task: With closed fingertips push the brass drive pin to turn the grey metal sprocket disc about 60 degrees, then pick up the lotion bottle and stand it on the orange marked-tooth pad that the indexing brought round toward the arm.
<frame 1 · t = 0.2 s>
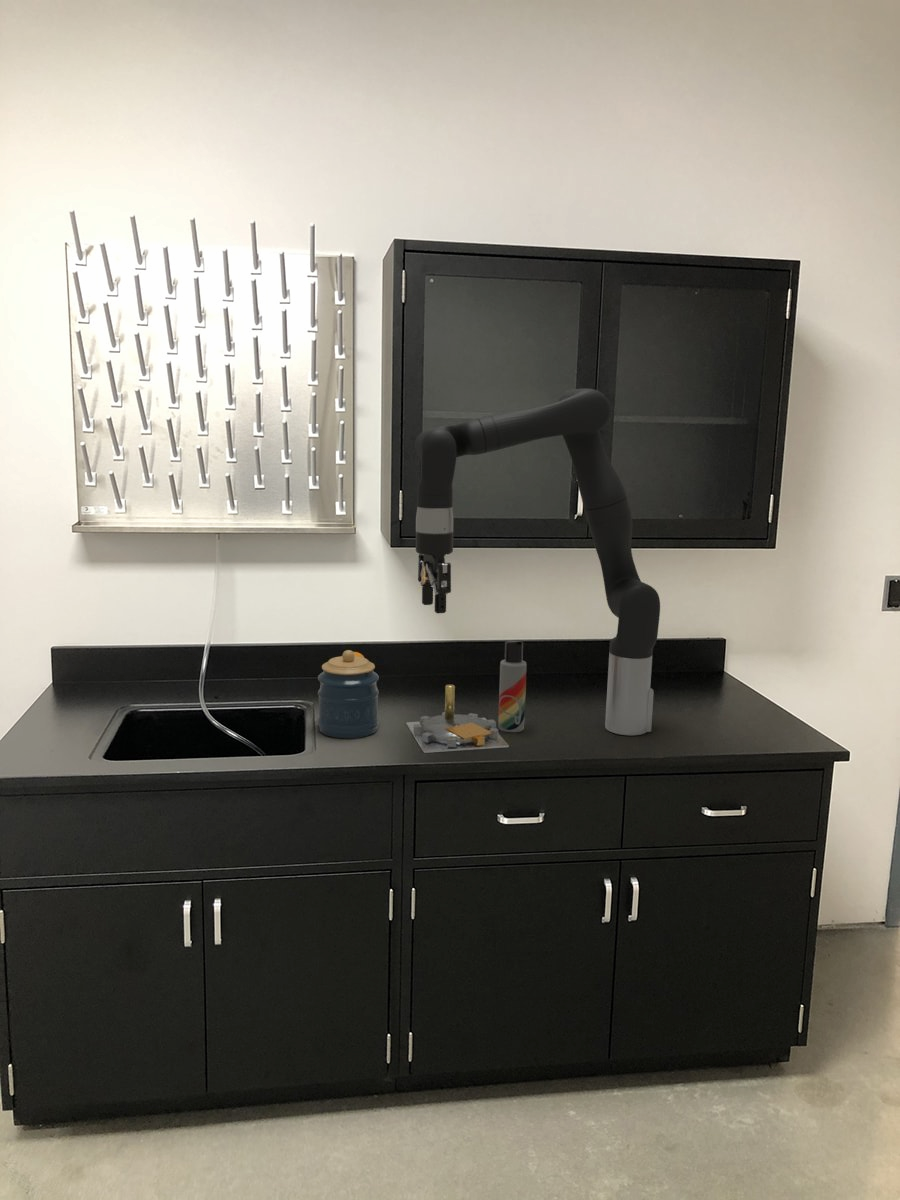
hand: (433, 608, 191), 28 cm above the counter, fingers open, 8 cm apart
sprocket: (456, 713, 200), point 5 cm above the counter, hinge at 0.0°
lotion bottle: (511, 729, 206), on the counter
bracket: (354, 702, 222), on the counter
canister: (348, 730, 203), on the counter
base plate: (455, 735, 201), on the counter
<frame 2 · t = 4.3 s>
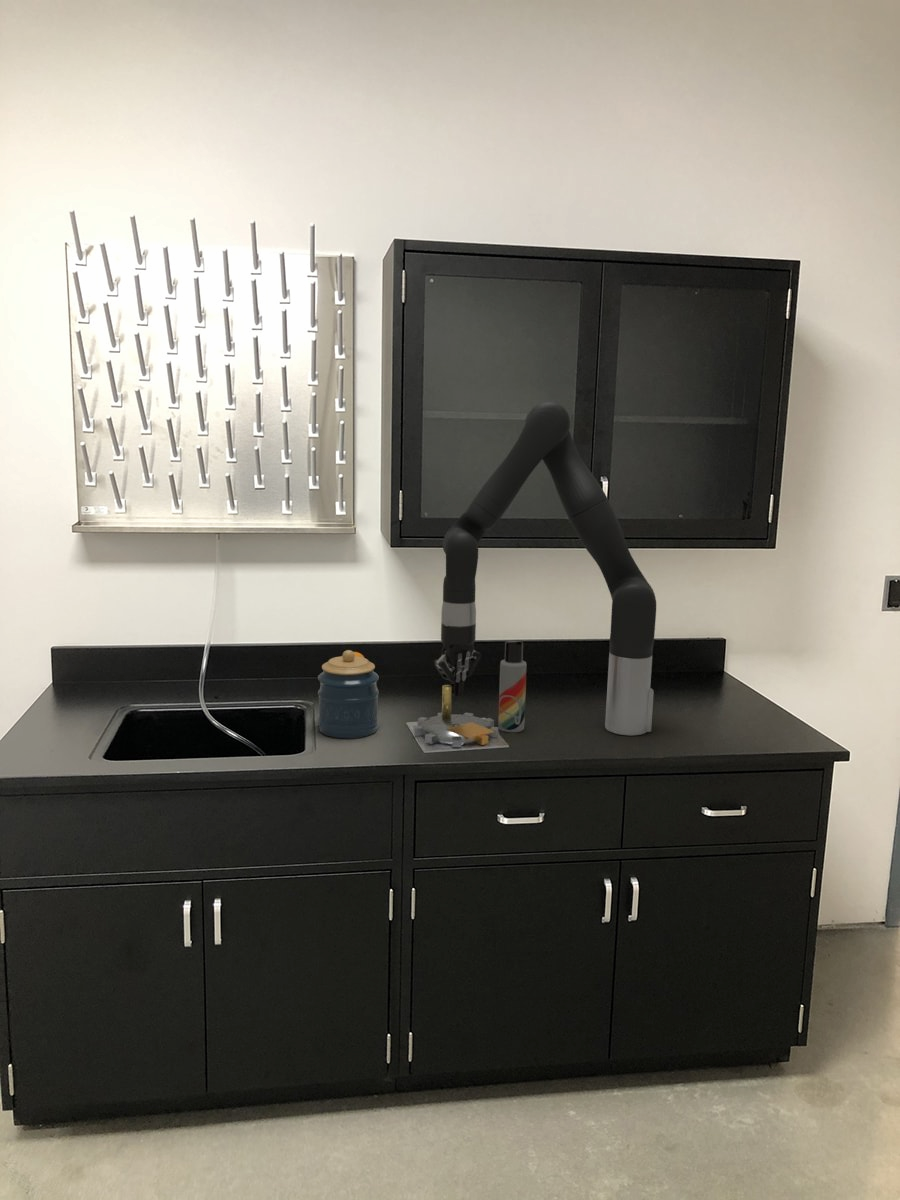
hand: (456, 696, 208), 6 cm above the counter, fingers closed
sprocket: (456, 713, 200), point 5 cm above the counter, hinge at 6.9°, touching gripper
everything else where it was.
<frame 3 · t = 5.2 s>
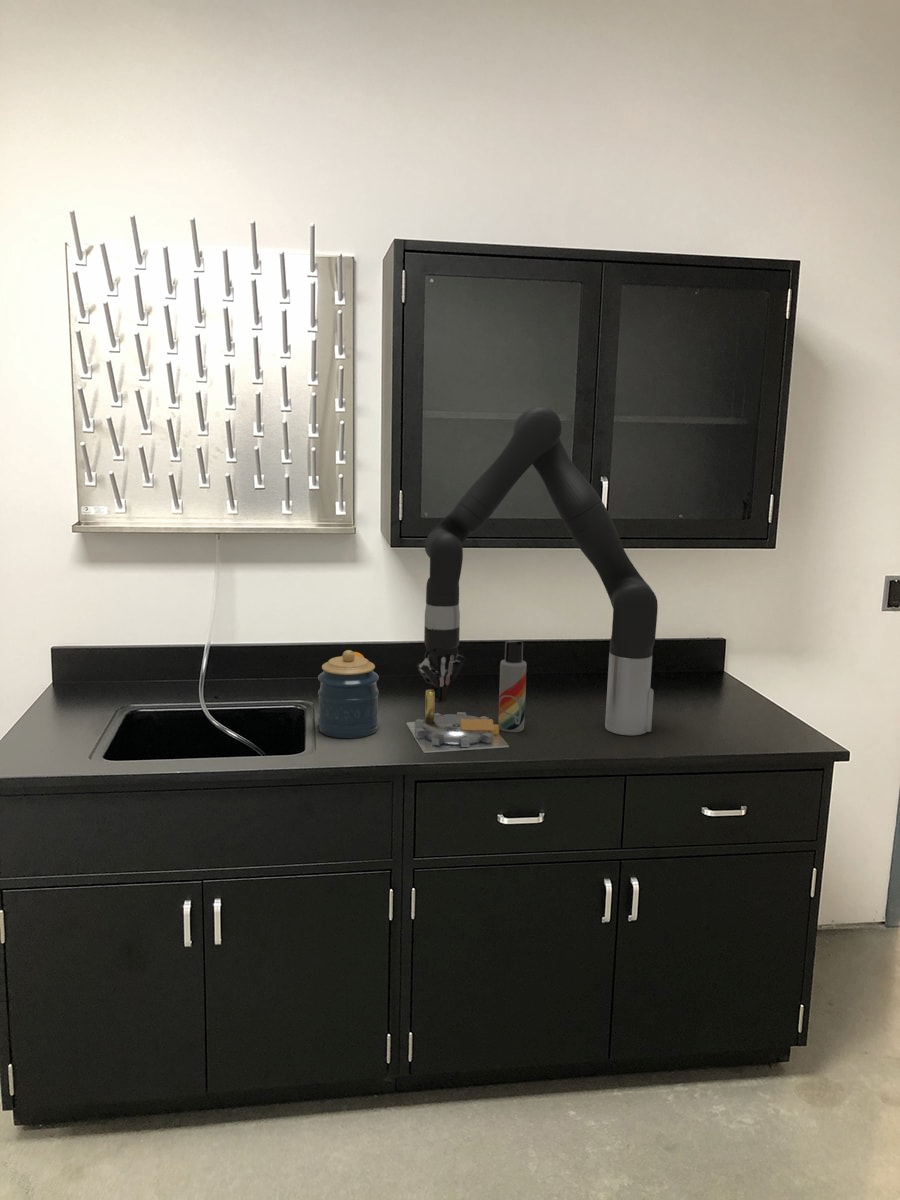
hand: (440, 701, 204), 6 cm above the counter, fingers closed
sprocket: (455, 713, 200), point 5 cm above the counter, hinge at 57.9°, touching gripper
everything else where it was.
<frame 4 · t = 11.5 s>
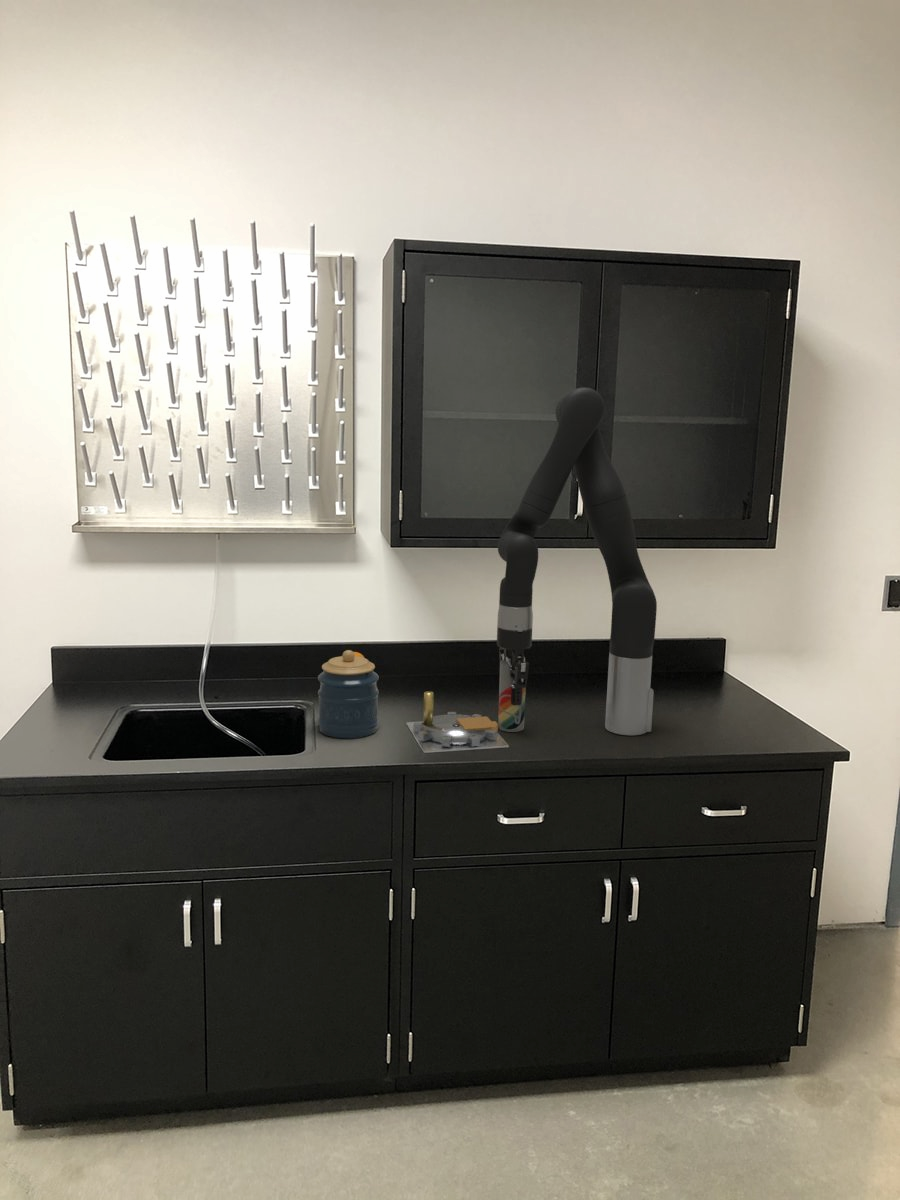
hand: (512, 700, 204), 6 cm above the counter, fingers closed on lotion bottle, 5 cm apart
sprocket: (455, 713, 200), point 5 cm above the counter, hinge at 72.1°
lotion bottle: (511, 729, 206), on the counter, touching gripper
everything else where it was.
when the fingers open (10 cm above the counter, at t = 17.5 s): lotion bottle stays where it is, resting on sprocket.
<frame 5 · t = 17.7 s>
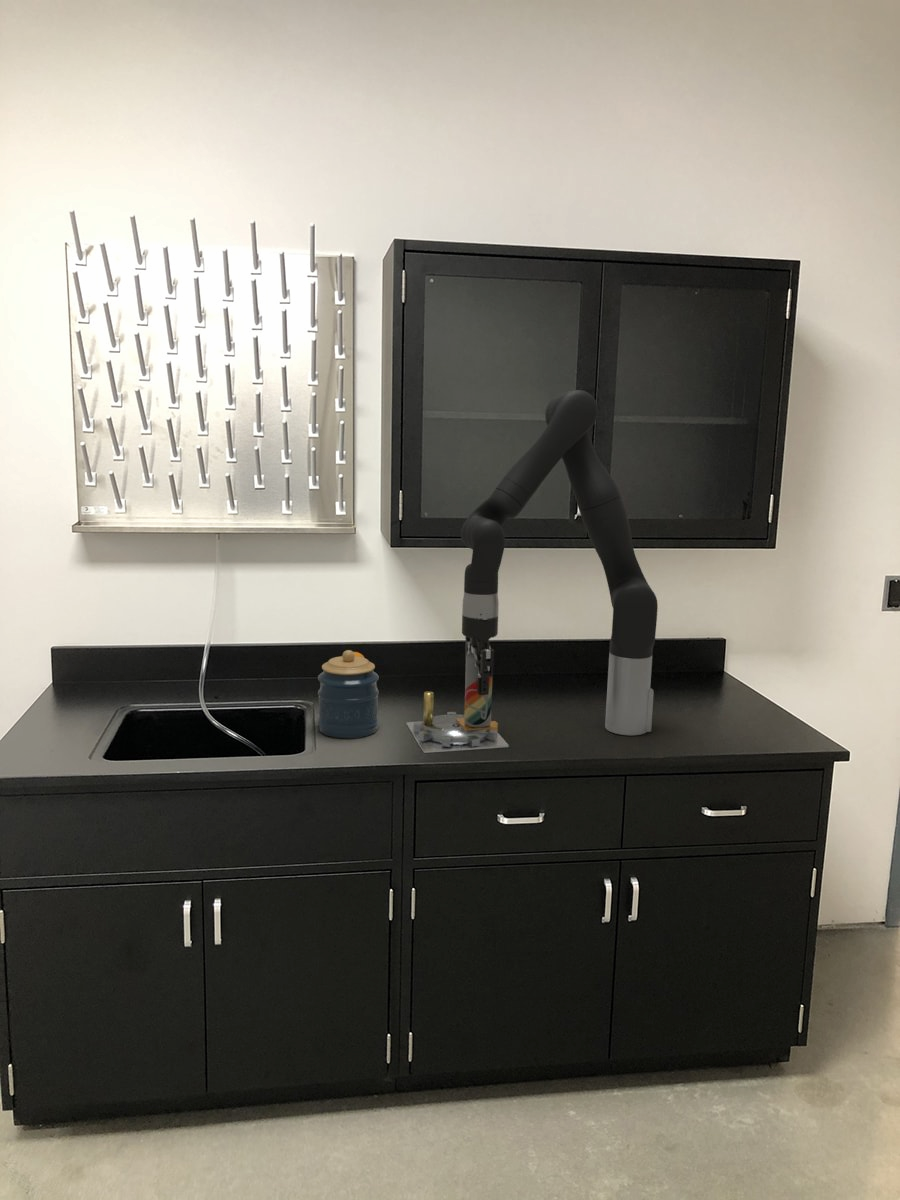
hand: (478, 689, 199), 10 cm above the counter, fingers open, 7 cm apart
sprocket: (455, 713, 200), point 5 cm above the counter, hinge at 72.4°, touching lotion bottle
lotion bottle: (477, 724, 201), point 2 cm above the counter, touching sprocket
everything else where it was.
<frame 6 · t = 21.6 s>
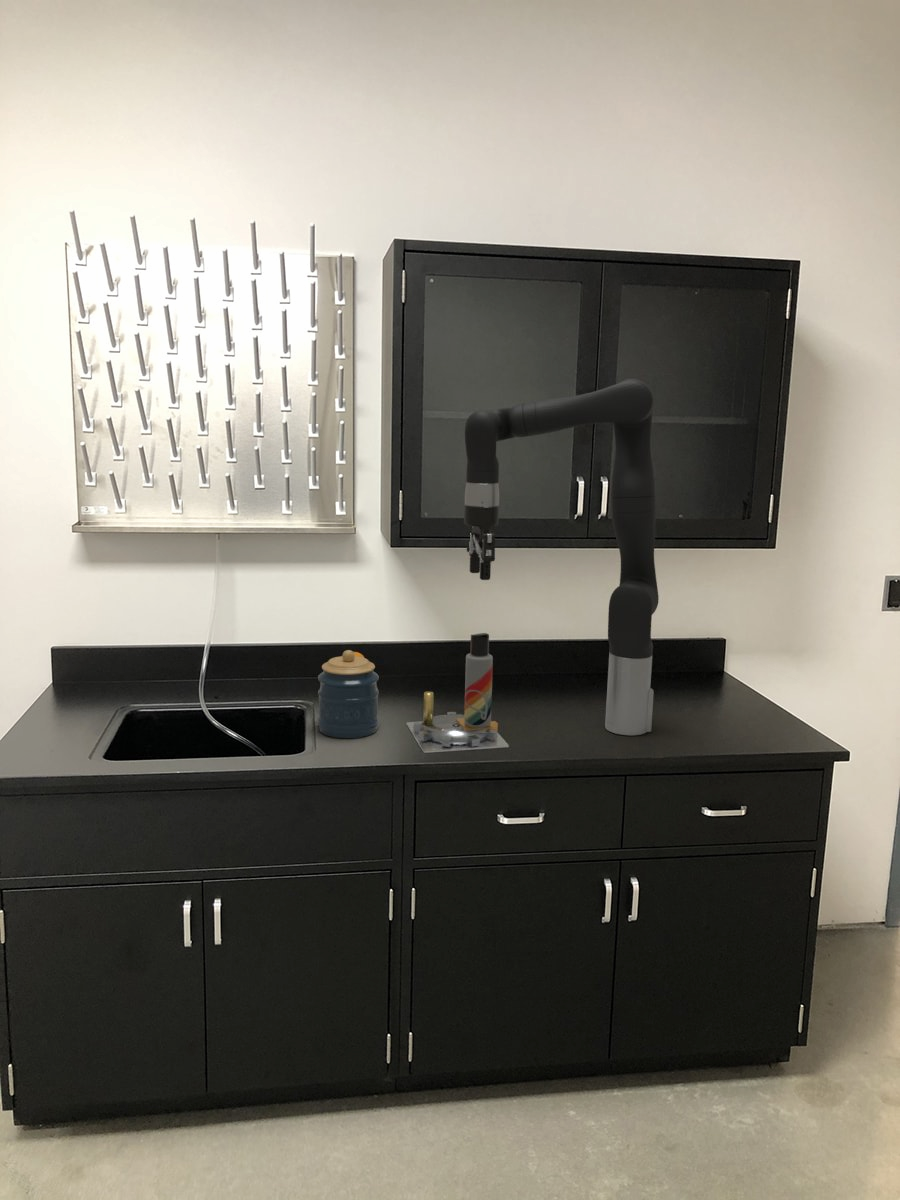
hand: (479, 576, 209), 32 cm above the counter, fingers open, 8 cm apart
nothing on the counter moved.
at the end: sprocket at +72° (first picture: +0°); lotion bottle inside the target area (0.1 cm from its centre), point 2.3 cm above the counter; lotion bottle tilted 0° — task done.
